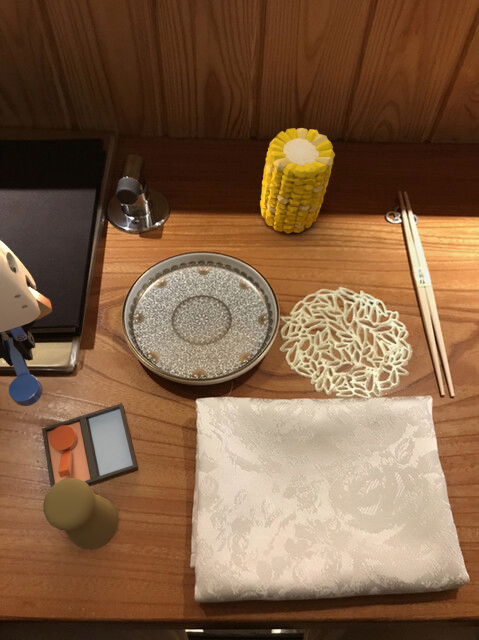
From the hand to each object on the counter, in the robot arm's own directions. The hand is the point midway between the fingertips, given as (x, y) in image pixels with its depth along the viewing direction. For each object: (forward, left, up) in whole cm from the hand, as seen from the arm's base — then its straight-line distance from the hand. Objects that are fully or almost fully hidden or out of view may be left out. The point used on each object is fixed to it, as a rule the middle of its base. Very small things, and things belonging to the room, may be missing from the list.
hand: (20, 351), depth 63 cm
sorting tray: (+3, -9, -13) cm, 16 cm away
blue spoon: (0, -3, -1) cm, 3 cm away
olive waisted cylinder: (+2, -17, -13) cm, 22 cm away
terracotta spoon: (0, -9, -13) cm, 15 cm away
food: (+41, +19, -13) cm, 47 cm away
